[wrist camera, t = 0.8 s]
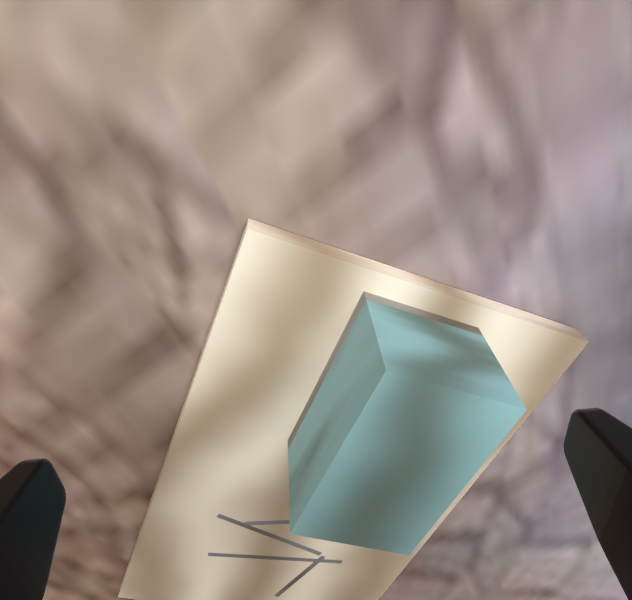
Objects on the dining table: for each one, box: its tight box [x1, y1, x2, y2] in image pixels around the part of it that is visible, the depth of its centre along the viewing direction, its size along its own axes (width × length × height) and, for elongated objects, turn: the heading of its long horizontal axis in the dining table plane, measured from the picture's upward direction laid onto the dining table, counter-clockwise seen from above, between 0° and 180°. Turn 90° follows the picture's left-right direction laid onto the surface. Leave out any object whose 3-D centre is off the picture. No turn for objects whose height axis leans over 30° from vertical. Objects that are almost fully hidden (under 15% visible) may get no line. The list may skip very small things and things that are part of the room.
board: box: [118, 218, 589, 600], centre depth 27 cm, size 16×26×1 cm, turn 158°
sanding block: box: [288, 291, 527, 555], centre depth 21 cm, size 6×9×5 cm, turn 158°
